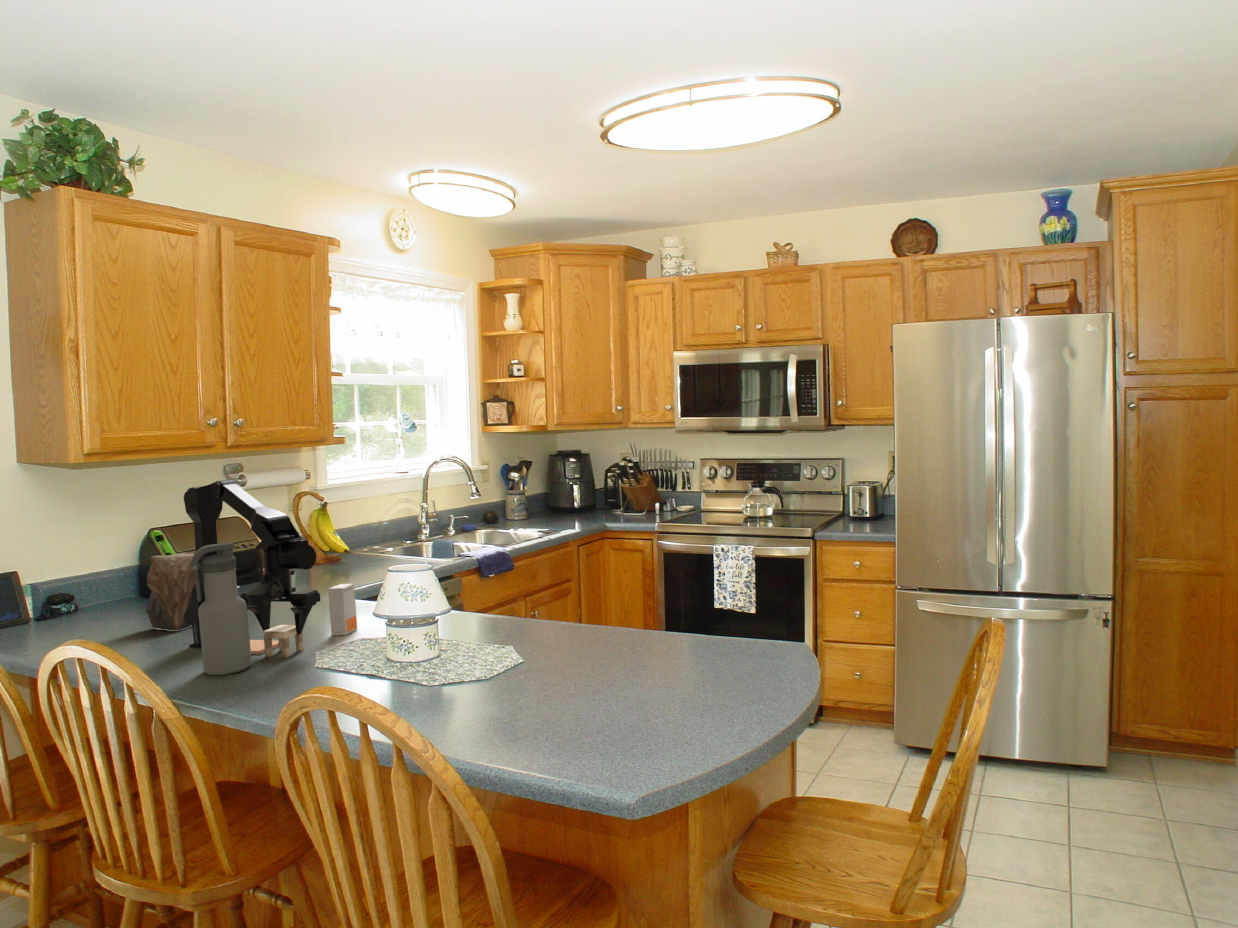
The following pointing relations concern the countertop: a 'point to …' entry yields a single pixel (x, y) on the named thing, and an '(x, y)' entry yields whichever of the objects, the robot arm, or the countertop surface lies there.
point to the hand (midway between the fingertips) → (282, 633)
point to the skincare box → (342, 609)
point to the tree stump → (170, 590)
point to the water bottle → (221, 612)
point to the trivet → (261, 646)
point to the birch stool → (282, 639)
